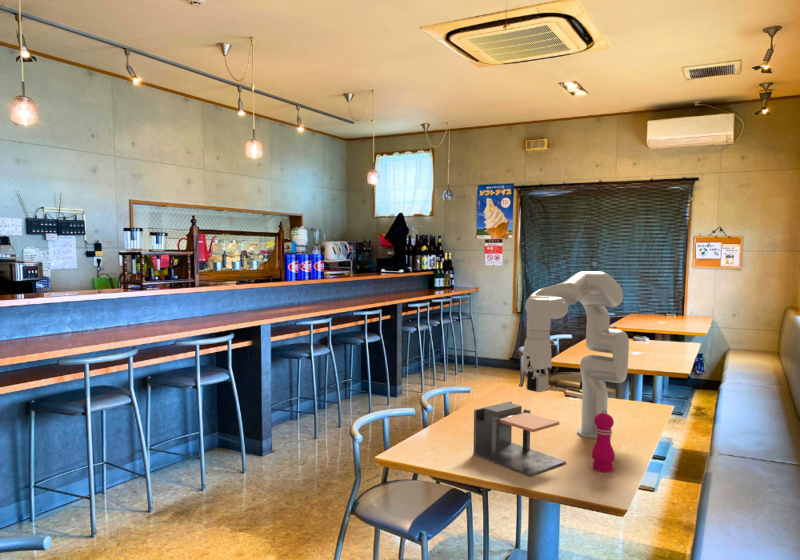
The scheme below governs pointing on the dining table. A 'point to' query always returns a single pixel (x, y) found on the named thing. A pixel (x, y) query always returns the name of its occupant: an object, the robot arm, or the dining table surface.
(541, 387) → the light grey cube
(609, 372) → the robot arm
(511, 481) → the dining table surface
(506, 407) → the trapdoor
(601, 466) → the pepper mill
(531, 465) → the frame
